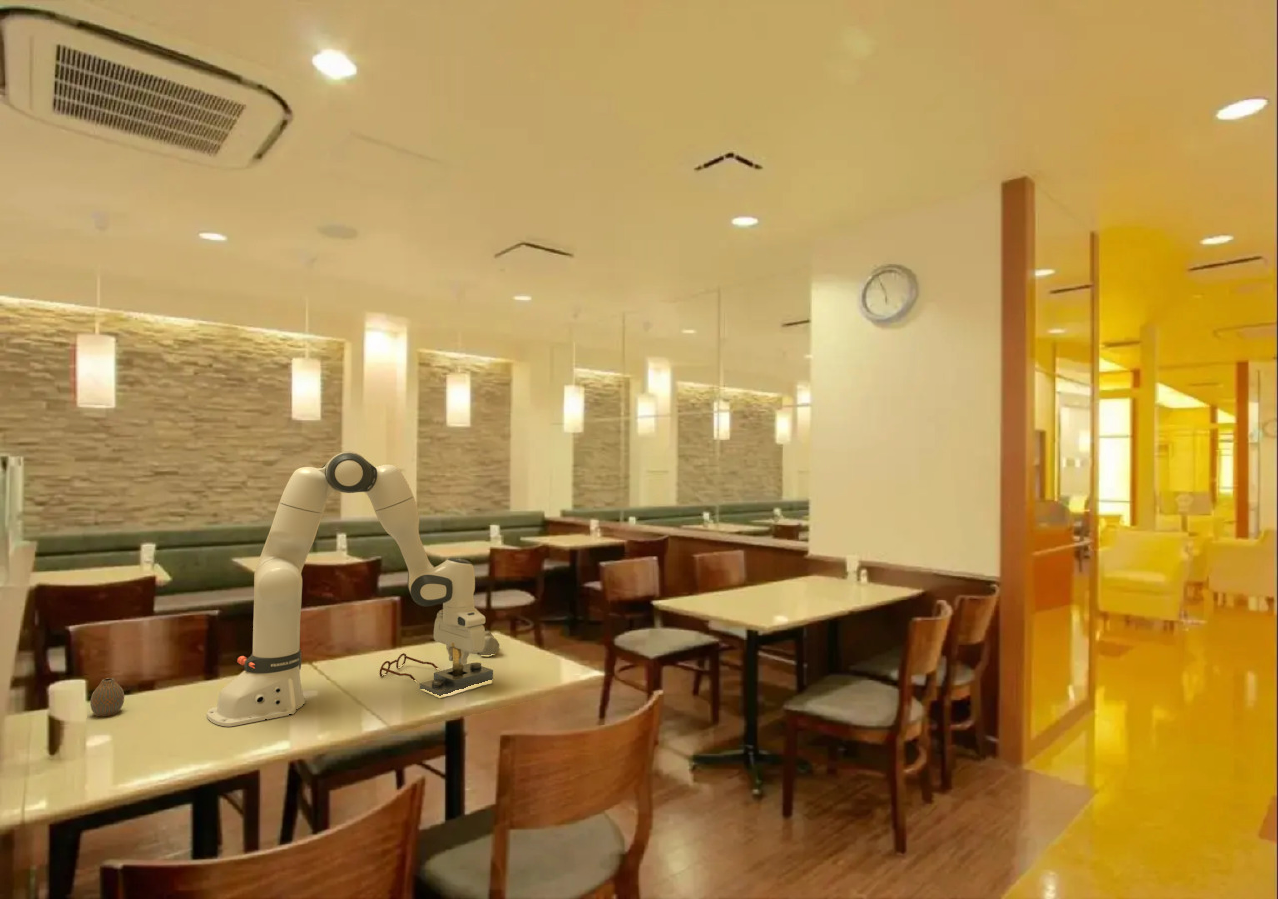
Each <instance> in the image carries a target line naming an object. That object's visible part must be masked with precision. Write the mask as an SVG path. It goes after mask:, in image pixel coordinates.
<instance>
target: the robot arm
mask: <svg viewBox="0 0 1278 899" xmlns="http://www.w3.org/2000/svg"><path fill="white" fill-rule="evenodd" d="M408 483H409V482H408V481H407V480H406V478H405V476H404V474H403V472H402V471H401V470H400V469H399V467H398V466H396V465H394V464H382V465H379V466H374V465H373V464H372V463H370V461H368V460H367V459H365V458H364V456H362V455H361V454H359V453H357V452H354V451H342V452H341V451H340V452H338V453H337V454H335V455H334V456H333V457H331V458H330V459H329V461H327V462H326V463H325V464H324V465H323V466H321V467H320V468H318V467H317V468H316V467H313V466H302V467H299V468H297V469H296V470H294V472H293V473H292V475H291V476H290V478H289V480H288V482H287V484H286V485H285V487H284V489H283V493H282V495H281V497H280V499H279V503H278V506H277V509H276V512H275V515H274V518H273V521H272V523H271V527H270V530H269V533H268V535H267V538H266V540H265V542H264V543H265V544H264V546H263V548H262V551H261V553H260V556H259V559H258V562H257V565H256V568H255V570H254V573H253V574H254V575H253V576H254V577H253V579H254V580H253V582H254V583H253V586H254V587H253V621H252V626H253V628H252V630H253V631H252V653H251V654H250V656H248V657H246V656H244V655H241V656H238V658H237V663H238V664H240V665H241V666H244V670H243V671H242V672H240V673H239V674H238V675H237V676H236V677H234V679H232V680H231V681H230V682H229V683H227V684H226V685H225V686H224V687H223V688H222V689H221V691H220V692H219V695H218V701H217V705H216V706H214V707H211V708H209V709H208V710H207V713H206V718H207V719H208V721H210V722H211V723H213V724H214V725H218V726H222V727H235V726H239V725H244V724H250V723H255V722H260V721H266V720H265V719H267V720H271V719H276V718H281V717H286V716H290V715H289V714H292V715H293V714H295V713H296V711H297V710H298V709H300V708H301V707H302V706H304V705H303V704H305V703H306V700H305V696H304V693H303V689H302V682H301V680H302V679H301V672H300V670H301V668H302V650H301V648H300V642H301V641H300V639H301V638H300V637H301V613H302V598H303V597H302V596H303V595H302V594H303V576H302V572H303V568H304V566H305V563H306V560H307V558H308V555H309V553H310V551H311V548H312V546H313V544H314V541H315V539H316V536H317V532H318V529H319V527H320V523H321V520H322V517H323V514H324V512H325V507H326V504H327V503H328V501H329V500H328V499H329V498H330V496H331V495H332V494H333V493H335V492H341V493H344V494H345V493H346V494H353V493H365V494H366V495H367V496H368V498H369V500H370V503H371V505H372V507H373V511H374V513H375V515H376V517H377V519H378V522H379V523H380V524H381V526H382V528H383V529H384V531H385V532H386V533H387V534H388V535H389V536H391V537H392V539H393V540H395V543H397V545H398V547H399V549H400V552H401V555H402V557H403V560H404V562H405V564H406V568H407V573H408V574H407V589H408V590H409V593H410V597H411V599H412V600H413V602H415V604H416V605H418V606H420V607H421V606H422V607H433V606H437V605H441V604H442V609H441V610H439V611H438V612H437V614H436V618H435V620H434V625H433V627H434V628H433V640H434V641H435V642H437V643H440V644H443V645H445V646H446V652H447V653H448V654H447V655H448V661H450V662H453V647H451V643H454V646H455V648H458V649H461V653H462V656H461V658H459V664H461V665H466V664H468V657H469V656H470V654H473V655H474V654H479V652H482V651H483V649H484V647H485V629H486V628H485V626H484V624H485V623H486V616H485V615H484V614H482V613H481V612H480V611H479V610H478V609H477V608H476V607H475V605H476V604H475V600H474V593H475V591H476V577H475V568H474V565H473V563H472V562H470V561H469V560H467V559H463V558H460V557H449V558H446V560H445V561H443V562H442V563H440V564H439V565H436V566H435V565H434V564H432V562H431V561H430V559H429V558H428V555H427V552H426V550H425V548H424V545H423V542H422V540H421V536H420V532H419V531H420V530H419V529H420V528H419V525H420V515H419V510H418V506H417V502H416V499H415V497H414V494H413V491H412V490H411V488H410V484H408ZM484 628H485V629H484ZM296 709H297V710H296Z"/></svg>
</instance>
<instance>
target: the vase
mask: <svg viewBox="0 0 1278 899" xmlns="http://www.w3.org/2000/svg"><path fill="white" fill-rule="evenodd" d="M121 686H122V685H121ZM121 686H120V684H119V683H117V682H116V680H115V678H114V677H107V678H103V679H101V681H100V683H99V684H98V686H97V687H96V688H95V689H94V691H93V692H92V694H91V698H90V700H89V703H90V708H91V711H92V714H94V715H95V716H97V717H100V718H101V717H102V718H104V717H105V718H106V717H109V716H110V717H111V716H114V715H116V714H117V713H119V711H120V710H121V709H122V707H123V706H124V702H125V692H124V689H123V688H122V687H121Z"/></svg>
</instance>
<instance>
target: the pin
mask: <svg viewBox="0 0 1278 899" xmlns="http://www.w3.org/2000/svg"><path fill="white" fill-rule="evenodd" d="M451 647H453V661H452V668H453V676H455V677H456V676H460V675H463V665H461V664H459V658H461V656H462V653H461V649H458V648H455V646H454V643H451Z"/></svg>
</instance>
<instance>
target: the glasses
mask: <svg viewBox="0 0 1278 899" xmlns="http://www.w3.org/2000/svg"><path fill="white" fill-rule="evenodd" d="M402 657H403V658H404V659H403V662H402V664H401V665H403V664H404V665H405V664H406V661H407V660H410V661H413V662H416V663H419V664H422V665H431V666H432V667H433V668H434V669H436V668H439V666H437V665H436V664H435V663H434V662H430V661H422V660H419V659H416V658H413V657H410V656H407V654H406V653H405V652H404V653H400V654H399V656H398V657H397V659H393V661H389V660H386V661H384V662H383V663H382V664H381V667H380V668H379V669H380V670H379V672H378V673H379V674H378V675H379V677H381V676H382V675H383V674H382V673H383V672H382V671H384V674H388V673H389V674H393V675H396V676H399V677H402V676H404V677H405V676H406V677H409V678H410V679H411V680H412V679H413V680H416V681H417V679H416V678H415V677H414V676H413V675H412V674H411V673H400V672H398V671H393V670H391V666H392V665H393V664H395V666H396V669H398V667H399V662H400V659H401V658H402ZM385 665H387V668H386V667H385ZM413 680H412V681H413Z"/></svg>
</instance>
